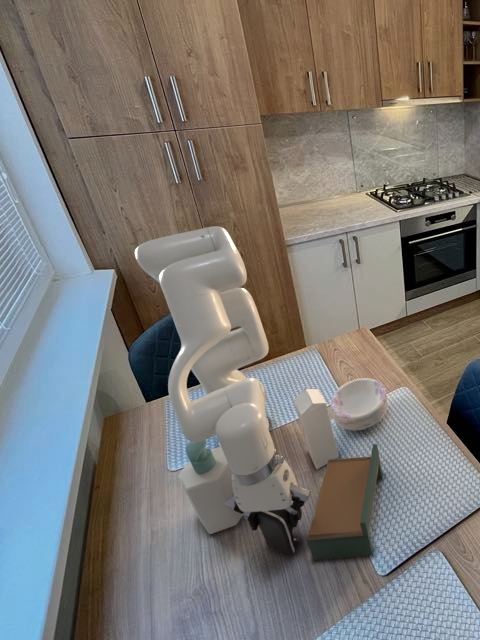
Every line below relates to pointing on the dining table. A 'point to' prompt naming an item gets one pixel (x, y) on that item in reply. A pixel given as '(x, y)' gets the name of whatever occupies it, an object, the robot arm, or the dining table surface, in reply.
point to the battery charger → (277, 530)
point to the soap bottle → (209, 486)
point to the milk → (316, 426)
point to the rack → (345, 508)
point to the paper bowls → (359, 404)
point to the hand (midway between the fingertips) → (277, 521)
